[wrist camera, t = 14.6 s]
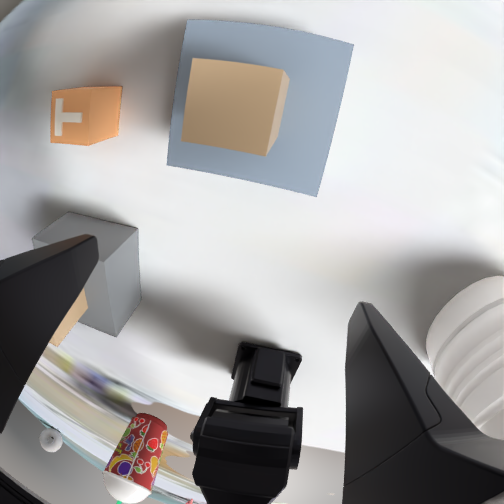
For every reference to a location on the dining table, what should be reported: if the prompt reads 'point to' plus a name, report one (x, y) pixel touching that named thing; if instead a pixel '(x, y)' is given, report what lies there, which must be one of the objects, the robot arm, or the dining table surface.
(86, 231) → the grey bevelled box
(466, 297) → the honey pot
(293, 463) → the robot arm
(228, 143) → the blue-grey and tan block
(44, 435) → the donut
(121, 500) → the smoothie
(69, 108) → the letter cube
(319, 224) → the dining table surface
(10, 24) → the dining table surface
